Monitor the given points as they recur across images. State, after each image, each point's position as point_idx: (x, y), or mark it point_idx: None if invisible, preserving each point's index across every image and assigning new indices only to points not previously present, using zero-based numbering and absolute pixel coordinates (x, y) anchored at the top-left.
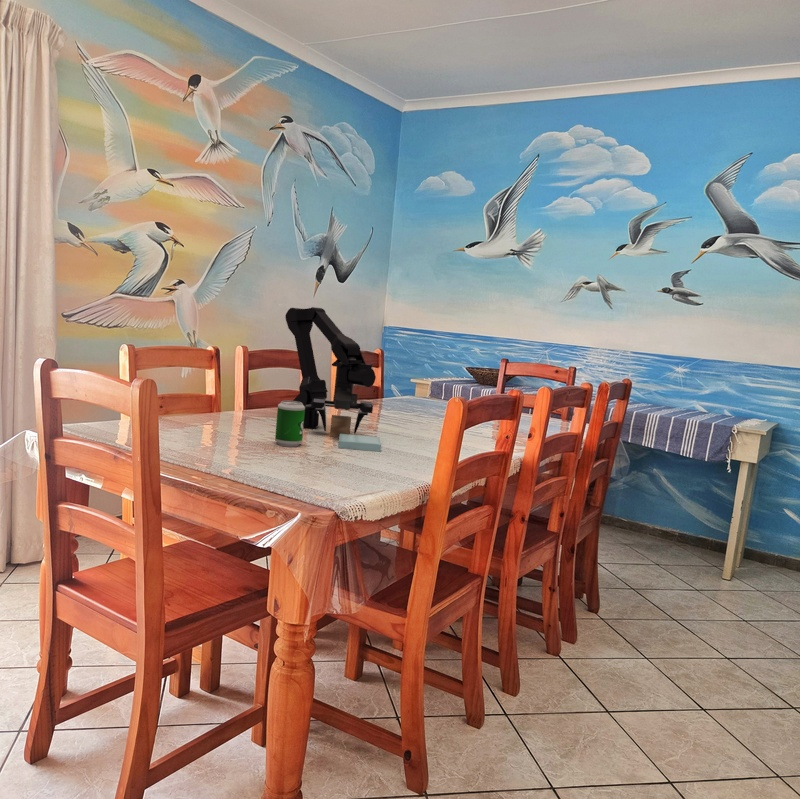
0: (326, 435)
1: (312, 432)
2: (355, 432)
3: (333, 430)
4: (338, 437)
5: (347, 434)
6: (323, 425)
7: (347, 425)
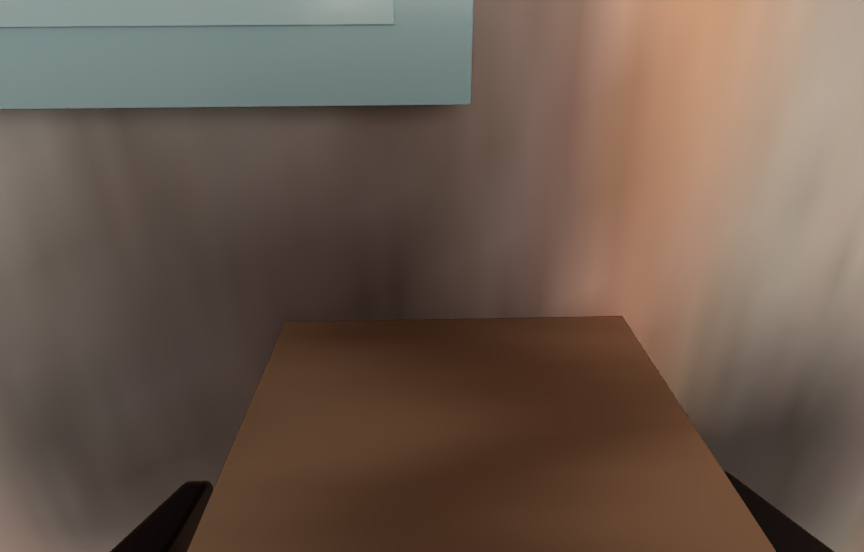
0: None
1: (835, 498)
2: (175, 494)
3: (602, 394)
4: (471, 322)
5: (242, 19)
6: (819, 542)
7: (285, 516)
